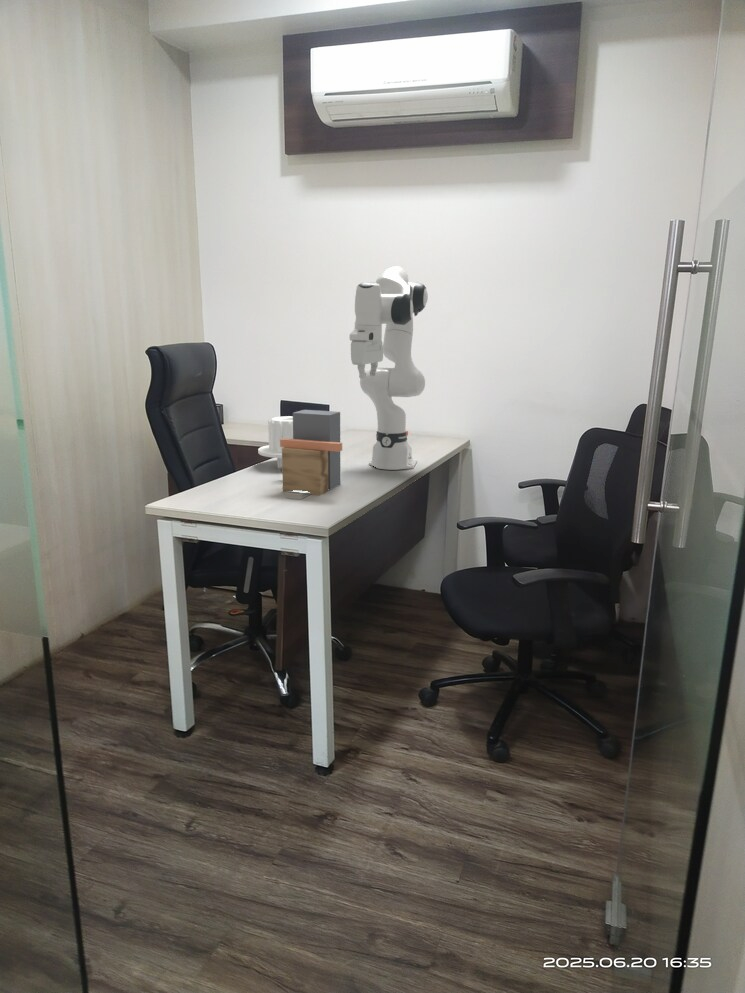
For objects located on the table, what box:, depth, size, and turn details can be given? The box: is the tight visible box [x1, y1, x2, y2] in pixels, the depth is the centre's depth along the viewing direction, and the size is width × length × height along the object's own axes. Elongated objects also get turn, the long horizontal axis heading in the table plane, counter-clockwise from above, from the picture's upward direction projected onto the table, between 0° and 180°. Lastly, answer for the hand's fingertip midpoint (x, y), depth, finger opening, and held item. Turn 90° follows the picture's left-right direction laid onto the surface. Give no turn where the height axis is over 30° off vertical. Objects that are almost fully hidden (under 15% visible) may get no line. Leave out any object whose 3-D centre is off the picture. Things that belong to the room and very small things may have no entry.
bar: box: [280, 438, 343, 453], centre depth 238 cm, size 3×22×3 cm, turn 69°
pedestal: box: [292, 409, 341, 490], centre depth 249 cm, size 9×14×26 cm, turn 69°
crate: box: [281, 447, 329, 496], centre depth 241 cm, size 7×14×15 cm, turn 69°
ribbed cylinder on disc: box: [257, 415, 293, 469], centre depth 281 cm, size 25×25×19 cm
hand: (367, 377), depth 233 cm, fingers open, 8 cm apart
